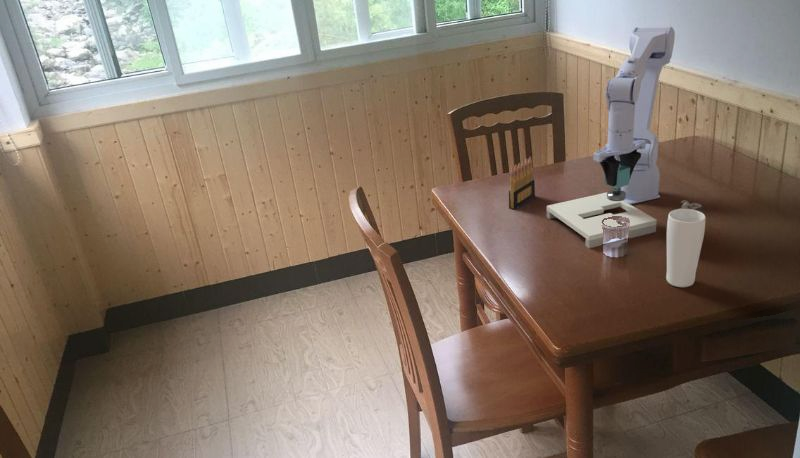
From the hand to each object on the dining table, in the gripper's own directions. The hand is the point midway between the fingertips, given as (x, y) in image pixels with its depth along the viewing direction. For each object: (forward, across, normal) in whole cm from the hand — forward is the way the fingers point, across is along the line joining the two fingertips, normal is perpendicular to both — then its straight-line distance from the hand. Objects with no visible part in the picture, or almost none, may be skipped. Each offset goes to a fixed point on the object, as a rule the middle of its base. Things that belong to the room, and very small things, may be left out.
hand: (618, 182), depth 150 cm
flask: (+10, -2, +19) cm, 21 cm away
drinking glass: (+10, +11, +30) cm, 33 cm away
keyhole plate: (+10, +5, -1) cm, 11 cm away
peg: (+4, 0, 0) cm, 4 cm away
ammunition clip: (+10, +11, -24) cm, 29 cm away
